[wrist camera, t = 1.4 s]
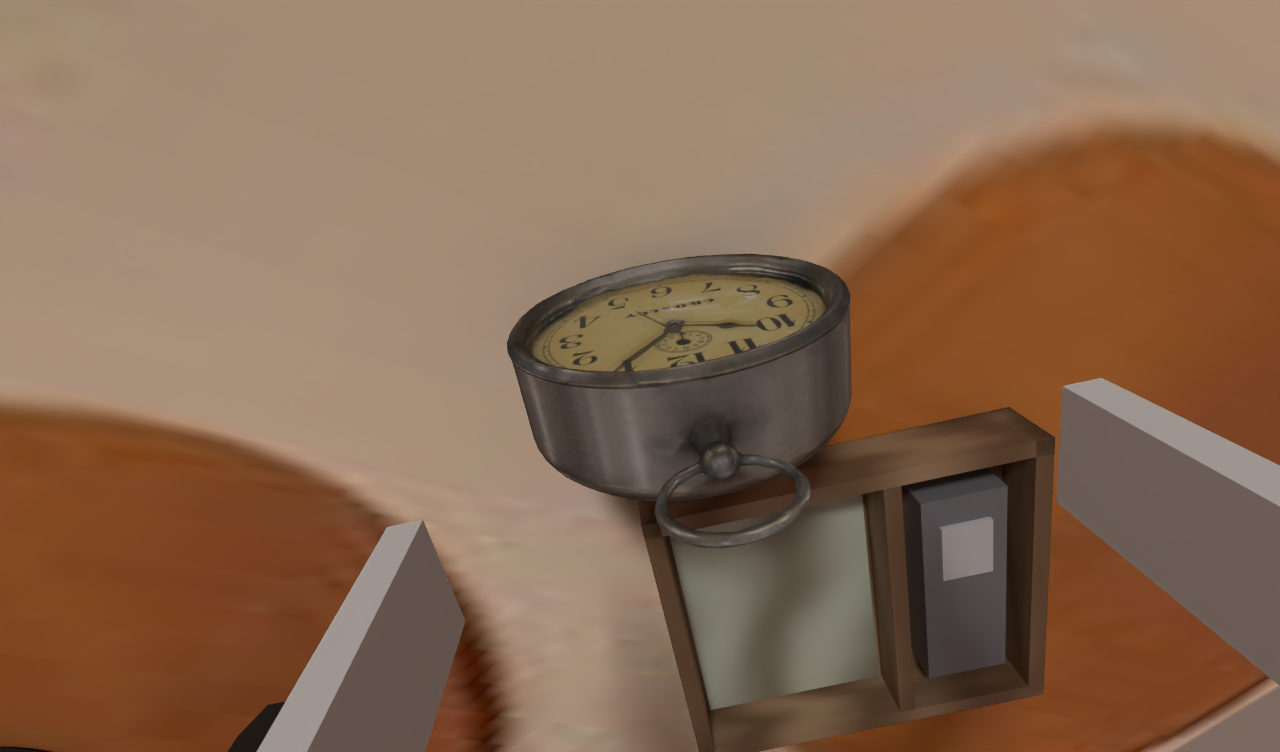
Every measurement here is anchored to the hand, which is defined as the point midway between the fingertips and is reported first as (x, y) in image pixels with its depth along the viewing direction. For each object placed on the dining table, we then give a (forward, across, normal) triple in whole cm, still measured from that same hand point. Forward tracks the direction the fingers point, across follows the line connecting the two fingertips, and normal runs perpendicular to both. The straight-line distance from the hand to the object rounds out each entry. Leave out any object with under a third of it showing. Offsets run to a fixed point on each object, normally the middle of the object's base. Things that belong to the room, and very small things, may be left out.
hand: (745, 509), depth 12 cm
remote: (+14, +11, -16) cm, 24 cm away
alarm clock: (+15, 0, 0) cm, 15 cm away
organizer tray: (+15, +6, -16) cm, 23 cm away
